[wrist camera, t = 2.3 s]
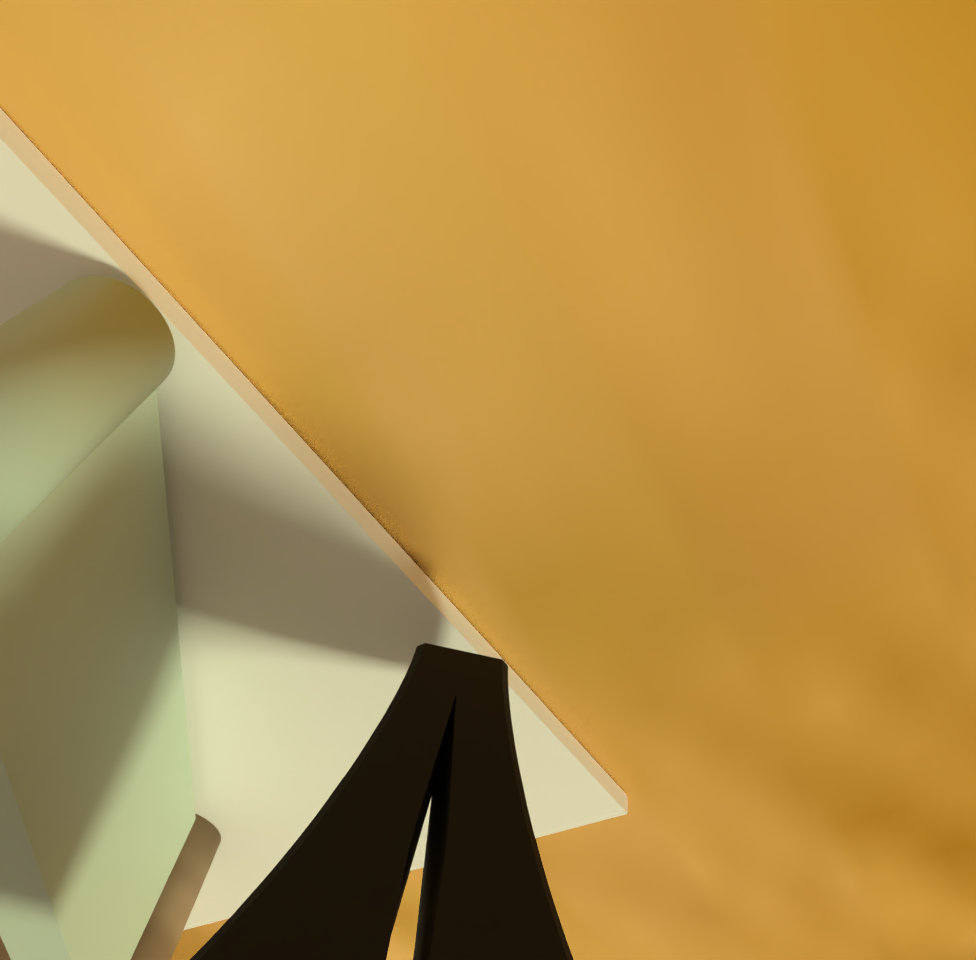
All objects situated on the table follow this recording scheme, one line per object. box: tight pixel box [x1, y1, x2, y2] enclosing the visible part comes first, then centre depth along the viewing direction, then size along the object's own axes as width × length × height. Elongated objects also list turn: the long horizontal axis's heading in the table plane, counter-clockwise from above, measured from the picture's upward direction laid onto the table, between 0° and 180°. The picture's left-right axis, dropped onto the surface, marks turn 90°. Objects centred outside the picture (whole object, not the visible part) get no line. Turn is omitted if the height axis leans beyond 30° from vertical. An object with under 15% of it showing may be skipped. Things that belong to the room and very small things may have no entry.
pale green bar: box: [0, 276, 196, 960], centre depth 11 cm, size 12×2×5 cm, turn 170°
